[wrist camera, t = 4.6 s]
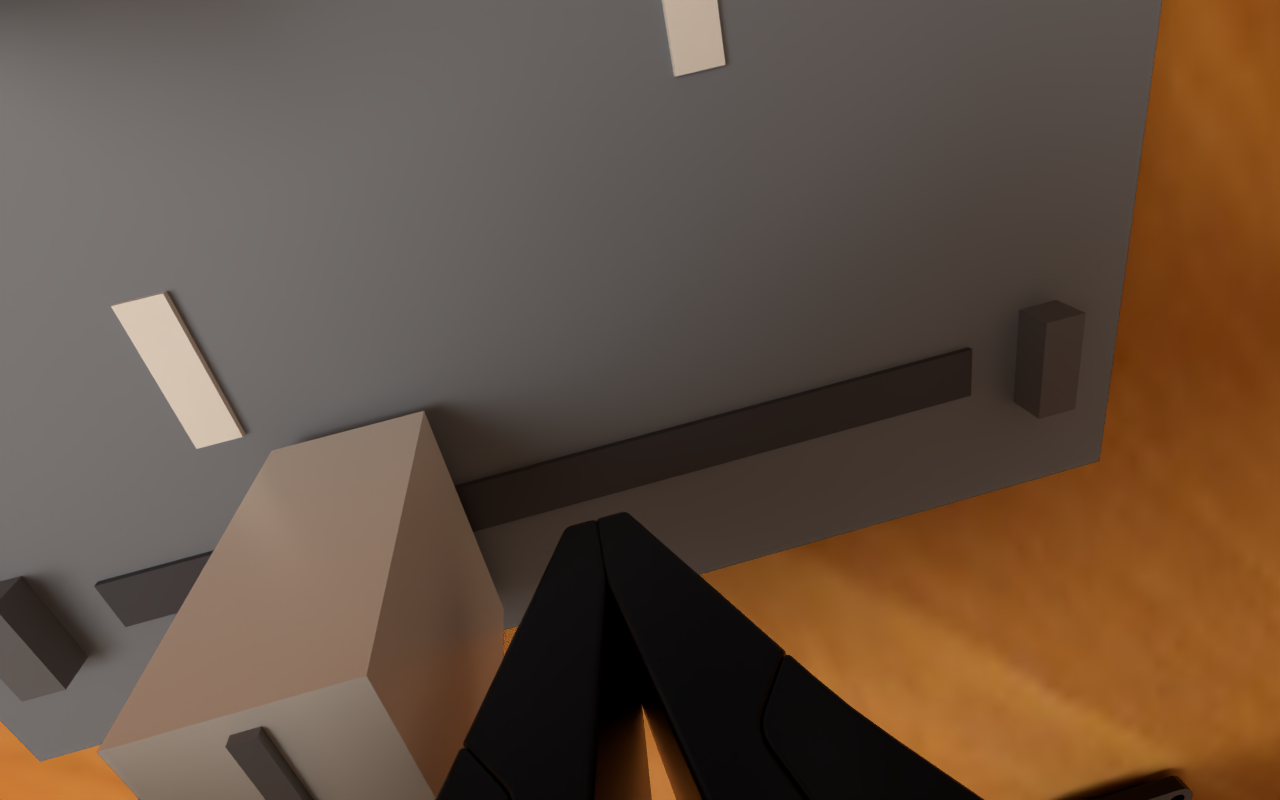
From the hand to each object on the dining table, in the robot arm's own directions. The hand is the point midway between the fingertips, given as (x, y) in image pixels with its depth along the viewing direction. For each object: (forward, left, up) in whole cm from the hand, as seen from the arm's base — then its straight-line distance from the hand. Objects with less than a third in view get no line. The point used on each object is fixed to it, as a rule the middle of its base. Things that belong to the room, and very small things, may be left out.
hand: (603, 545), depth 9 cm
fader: (0, +3, -1) cm, 3 cm away
